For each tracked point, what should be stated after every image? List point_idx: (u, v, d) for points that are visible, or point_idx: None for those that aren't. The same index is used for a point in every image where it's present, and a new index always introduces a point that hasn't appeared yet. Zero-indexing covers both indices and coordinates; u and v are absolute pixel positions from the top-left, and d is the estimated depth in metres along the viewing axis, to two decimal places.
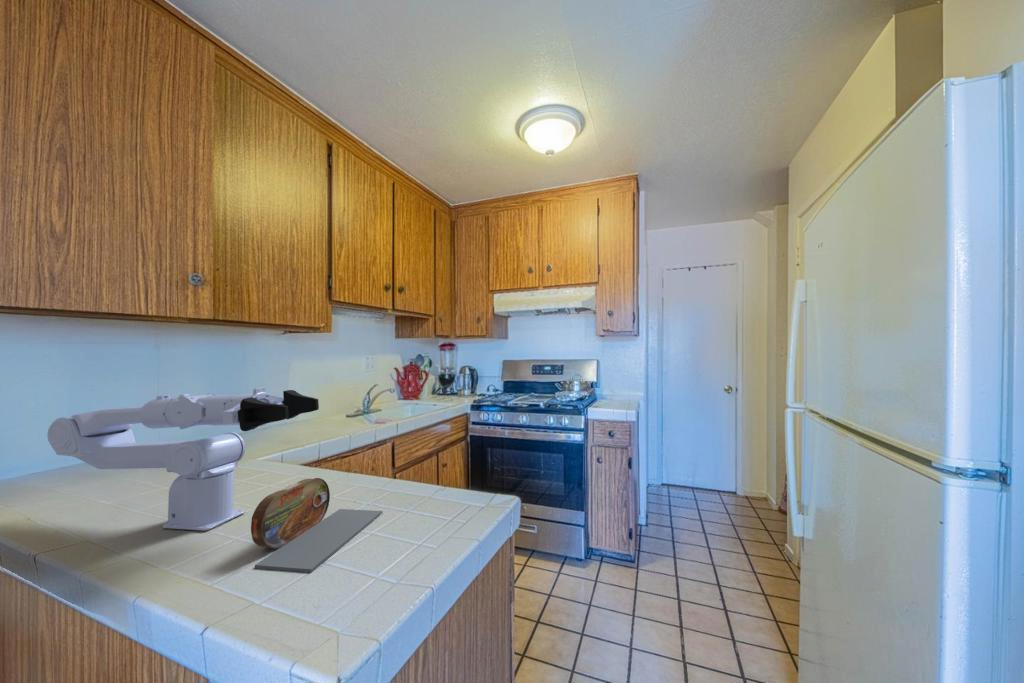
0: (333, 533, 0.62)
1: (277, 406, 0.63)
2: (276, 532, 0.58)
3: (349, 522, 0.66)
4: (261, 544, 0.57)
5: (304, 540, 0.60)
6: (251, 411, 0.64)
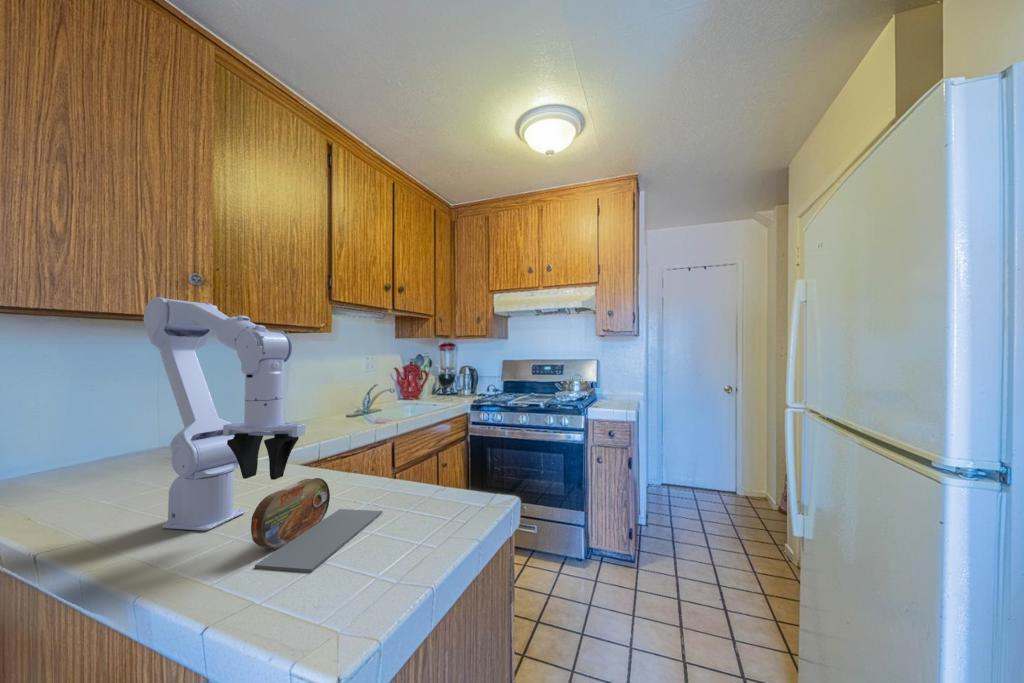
0: (333, 533, 0.62)
1: (241, 471, 0.64)
2: (276, 532, 0.58)
3: (349, 522, 0.66)
4: (261, 544, 0.57)
5: (304, 540, 0.60)
6: None
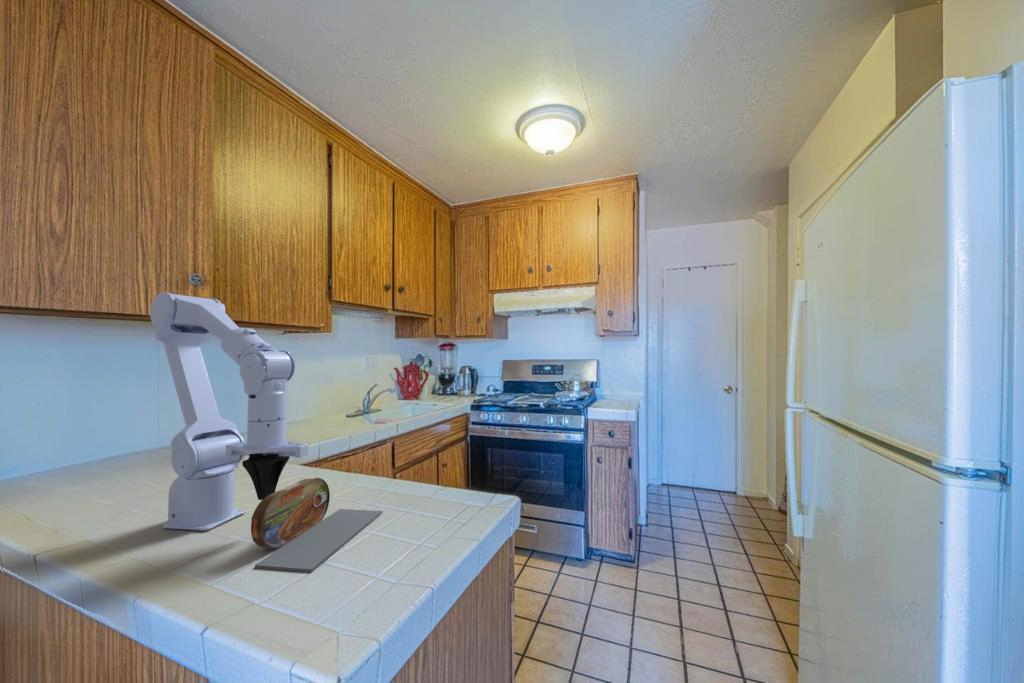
0: (333, 533, 0.62)
1: (256, 492, 0.63)
2: (276, 532, 0.58)
3: (349, 522, 0.66)
4: (261, 544, 0.57)
5: (304, 540, 0.60)
6: None
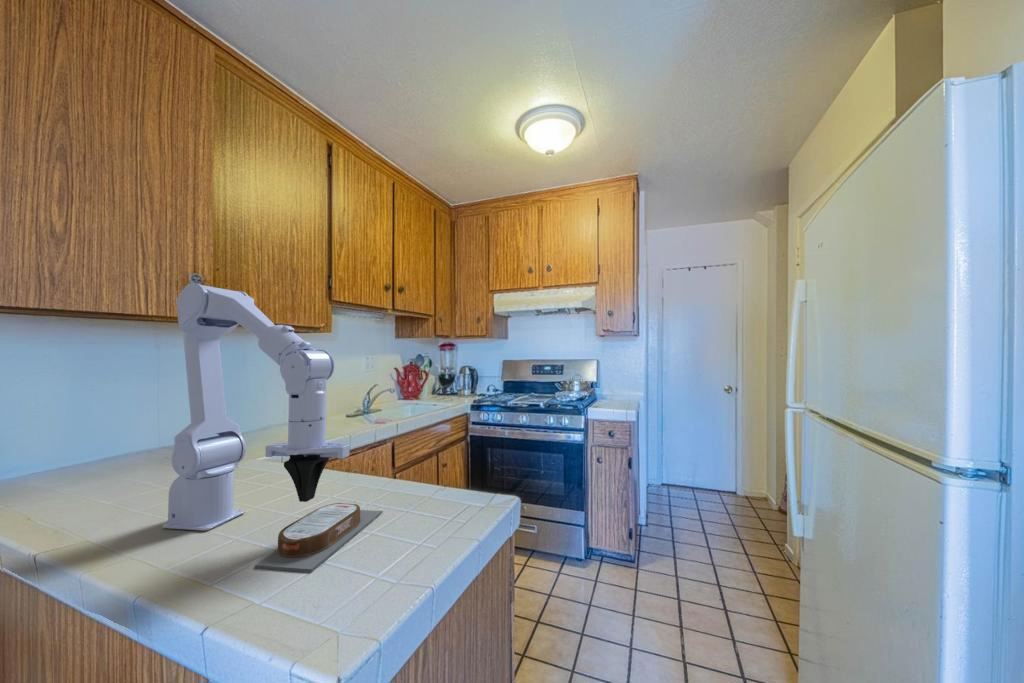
0: None
1: (297, 493, 0.62)
2: None
3: None
4: (278, 544, 0.56)
5: None
6: None
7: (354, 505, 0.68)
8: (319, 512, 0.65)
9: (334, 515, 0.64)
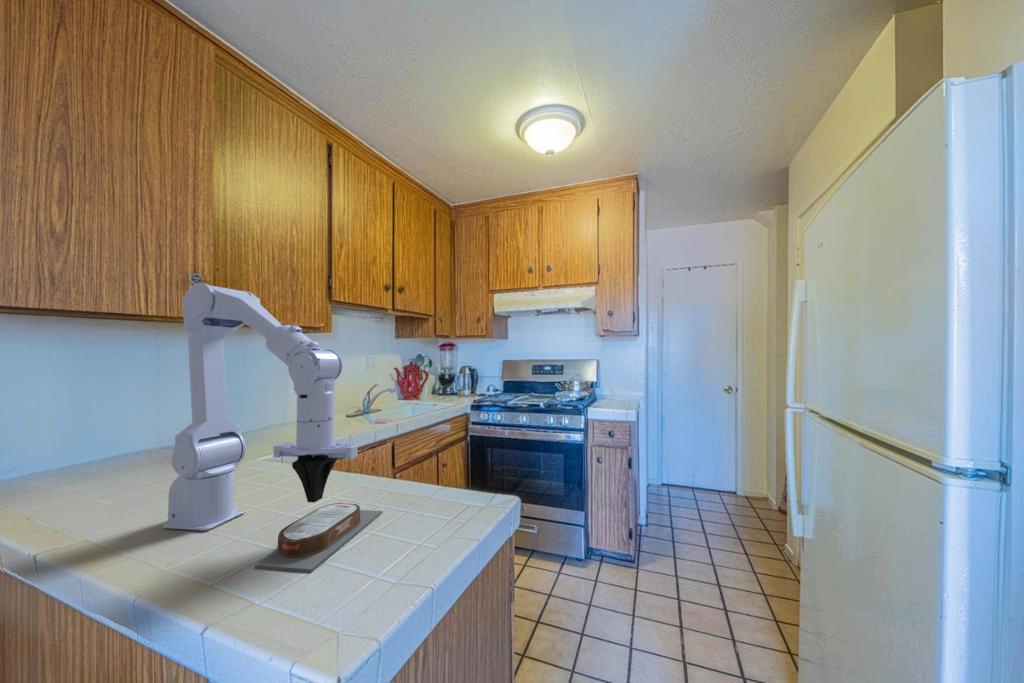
0: None
1: None
2: None
3: None
4: (278, 544, 0.56)
5: None
6: None
7: (354, 505, 0.68)
8: (319, 512, 0.65)
9: (334, 515, 0.64)
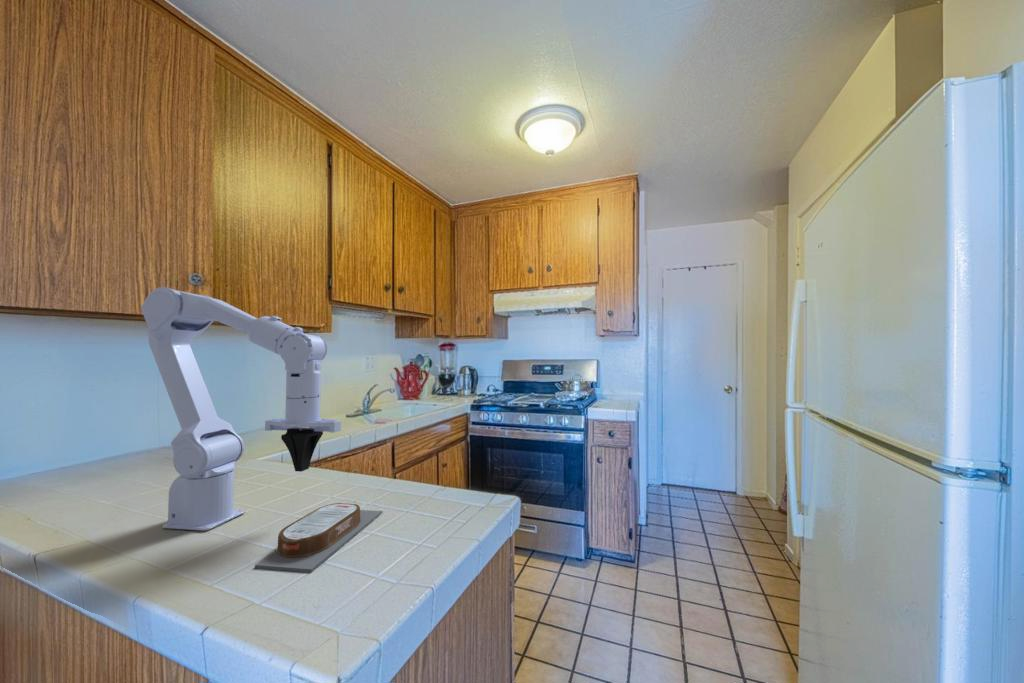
0: None
1: None
2: None
3: None
4: (278, 544, 0.56)
5: None
6: None
7: (354, 505, 0.68)
8: (319, 512, 0.65)
9: (334, 515, 0.64)
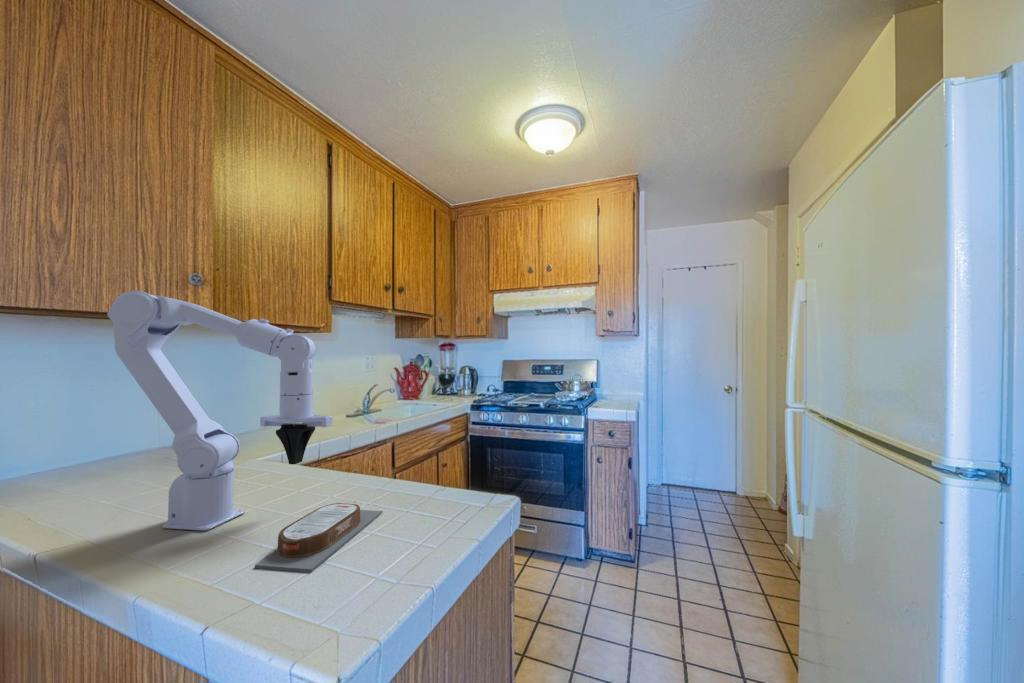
0: None
1: None
2: None
3: None
4: (278, 544, 0.56)
5: None
6: None
7: (354, 505, 0.68)
8: (319, 512, 0.65)
9: (334, 515, 0.64)
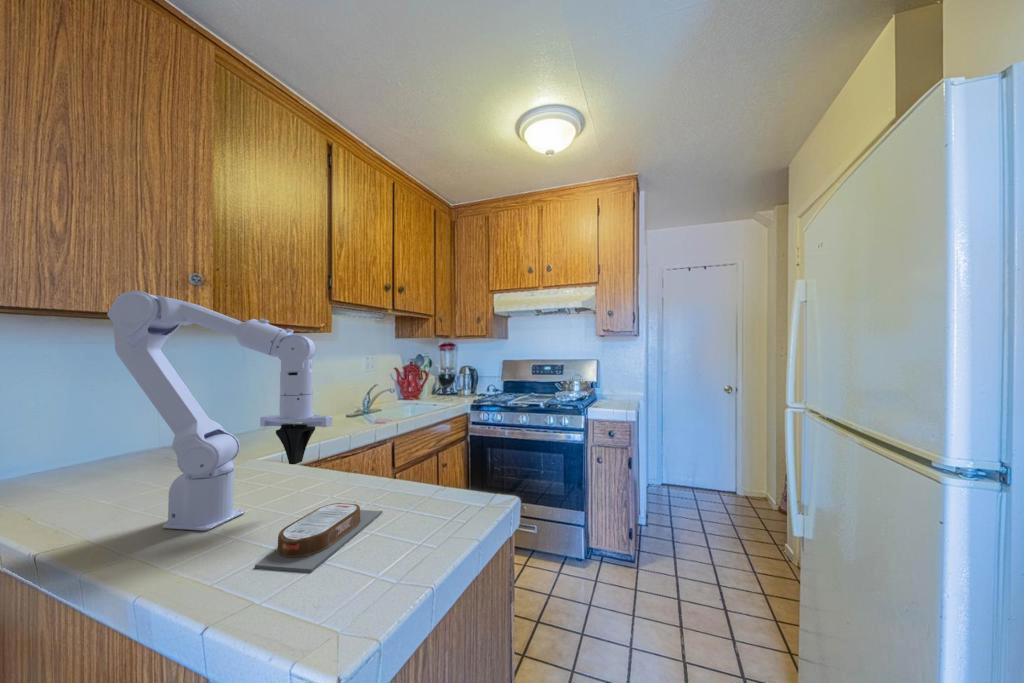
0: None
1: None
2: None
3: None
4: (278, 544, 0.56)
5: None
6: None
7: (354, 505, 0.68)
8: (319, 512, 0.65)
9: (334, 515, 0.64)
